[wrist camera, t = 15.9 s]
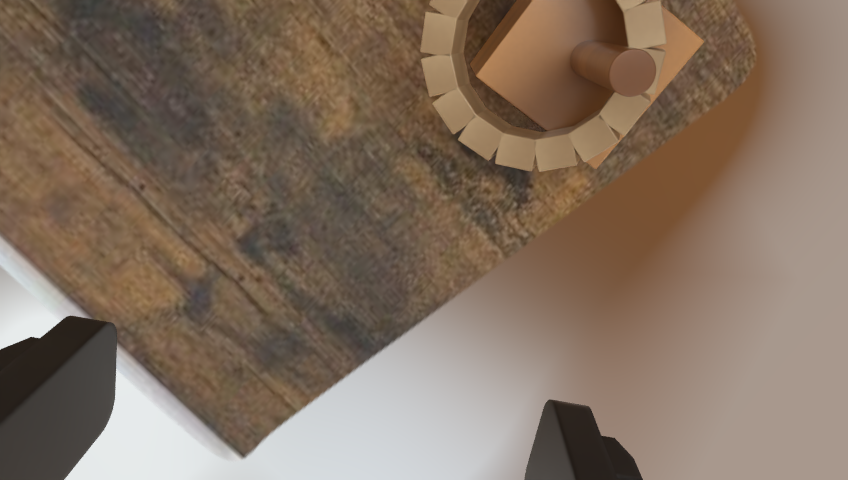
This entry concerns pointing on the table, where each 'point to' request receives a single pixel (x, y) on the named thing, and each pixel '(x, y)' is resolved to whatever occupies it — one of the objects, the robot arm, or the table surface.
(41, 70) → the table surface
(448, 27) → the ring
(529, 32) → the post
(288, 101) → the table surface
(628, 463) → the robot arm
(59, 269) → the table surface
